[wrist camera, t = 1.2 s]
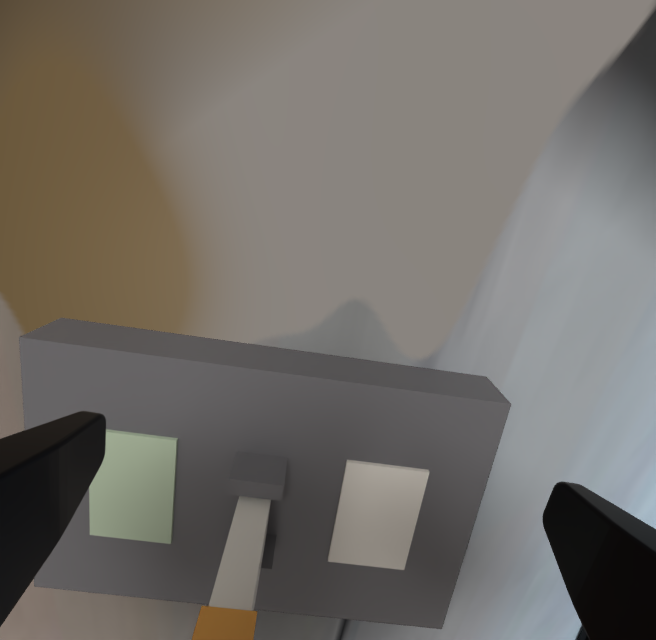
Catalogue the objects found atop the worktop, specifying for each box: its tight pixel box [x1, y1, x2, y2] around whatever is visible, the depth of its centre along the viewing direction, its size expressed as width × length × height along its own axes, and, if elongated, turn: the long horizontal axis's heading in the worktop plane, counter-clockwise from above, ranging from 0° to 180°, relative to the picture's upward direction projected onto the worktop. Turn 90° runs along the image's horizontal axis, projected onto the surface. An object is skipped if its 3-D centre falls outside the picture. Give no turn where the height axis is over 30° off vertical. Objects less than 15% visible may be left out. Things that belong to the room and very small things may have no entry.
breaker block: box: [19, 318, 511, 629], centre depth 21 cm, size 14×22×5 cm, turn 81°
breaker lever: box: [192, 496, 271, 640], centre depth 16 cm, size 3×2×8 cm, turn 171°
